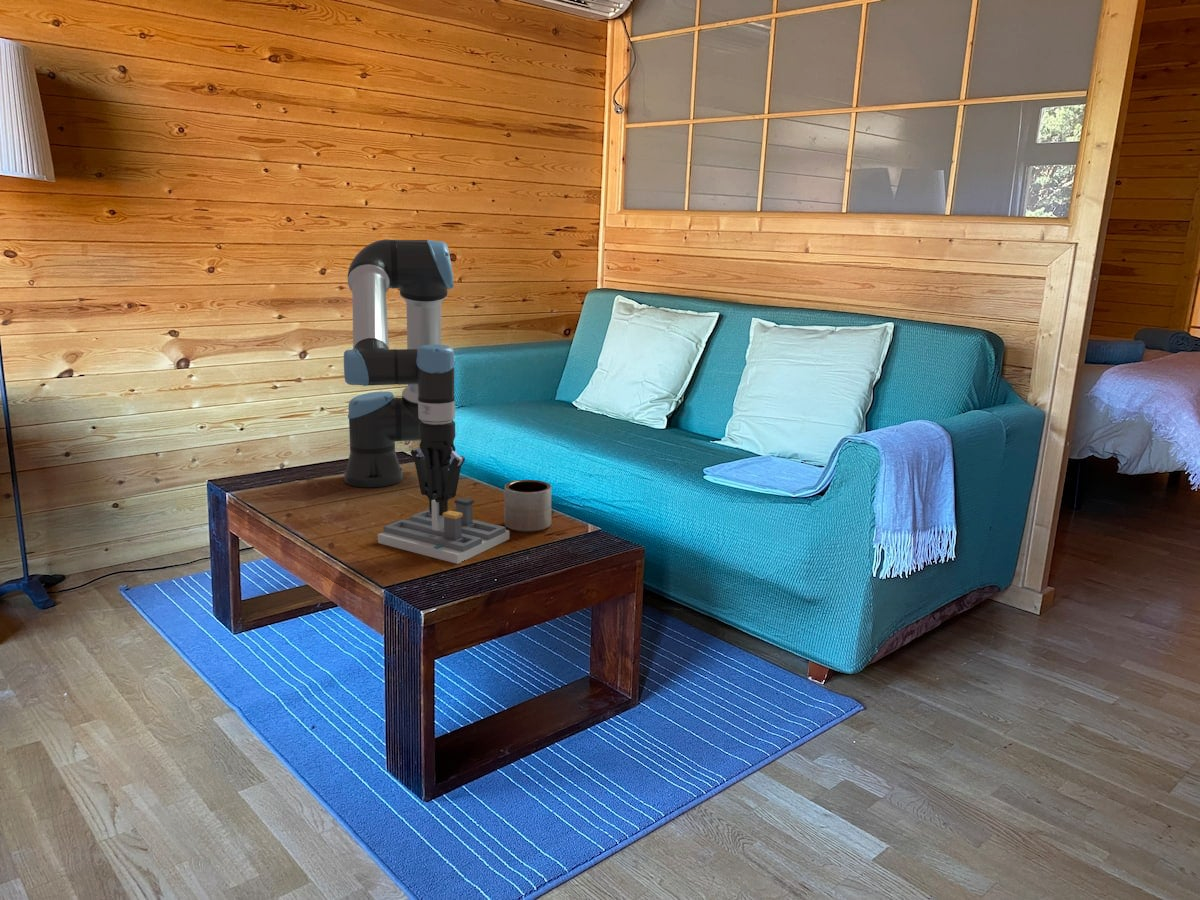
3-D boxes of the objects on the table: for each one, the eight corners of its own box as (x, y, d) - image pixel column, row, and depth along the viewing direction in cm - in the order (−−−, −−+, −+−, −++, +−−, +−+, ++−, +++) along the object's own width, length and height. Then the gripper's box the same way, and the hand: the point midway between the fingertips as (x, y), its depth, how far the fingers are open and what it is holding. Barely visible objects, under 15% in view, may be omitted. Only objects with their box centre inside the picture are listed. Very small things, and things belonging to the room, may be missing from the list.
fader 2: (460, 524, 203) (460, 497, 201) (474, 527, 201) (474, 500, 199) (453, 526, 201) (453, 499, 199) (468, 530, 199) (467, 502, 197)
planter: (521, 515, 217) (521, 476, 215) (559, 523, 212) (560, 483, 210) (495, 527, 208) (494, 487, 205) (535, 536, 203) (535, 495, 200)
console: (432, 520, 211) (432, 507, 210) (509, 539, 201) (509, 525, 200) (377, 542, 196) (377, 528, 195) (457, 563, 185) (457, 549, 185)
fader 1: (449, 537, 194) (448, 509, 192) (464, 541, 192) (463, 513, 190) (442, 541, 192) (441, 512, 190) (456, 544, 190) (456, 516, 188)
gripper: (400, 419, 187) (403, 527, 193) (449, 427, 181) (451, 539, 187) (424, 413, 193) (427, 518, 199) (473, 421, 187) (474, 529, 193)
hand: (438, 528), depth 193 cm, fingers closed
